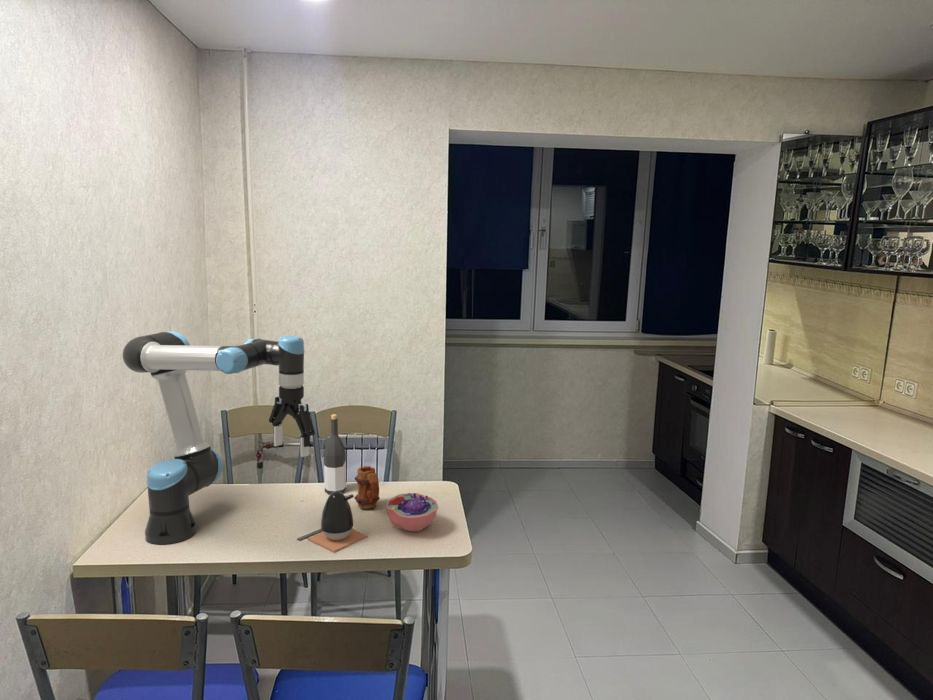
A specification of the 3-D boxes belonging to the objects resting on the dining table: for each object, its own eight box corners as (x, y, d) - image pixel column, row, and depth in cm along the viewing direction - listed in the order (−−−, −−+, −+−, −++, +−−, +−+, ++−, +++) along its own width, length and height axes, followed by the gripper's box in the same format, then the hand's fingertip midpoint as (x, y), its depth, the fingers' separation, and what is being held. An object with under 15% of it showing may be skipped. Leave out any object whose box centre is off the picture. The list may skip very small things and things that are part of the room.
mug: (352, 503, 238) (351, 464, 235) (373, 500, 241) (373, 461, 239) (365, 519, 225) (364, 478, 222) (387, 515, 229) (387, 474, 226)
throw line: (297, 539, 209) (296, 538, 209) (340, 521, 223) (340, 520, 223) (299, 541, 208) (299, 539, 208) (343, 522, 222) (343, 521, 222)
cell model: (428, 512, 232) (428, 481, 230) (443, 537, 213) (444, 504, 211) (381, 517, 227) (380, 486, 225) (392, 543, 208) (392, 510, 206)
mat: (307, 540, 209) (307, 538, 209) (341, 525, 220) (341, 523, 220) (334, 552, 201) (334, 551, 201) (367, 537, 212) (367, 535, 212)
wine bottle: (324, 487, 252) (323, 412, 247) (346, 486, 254) (345, 411, 248) (324, 495, 244) (322, 418, 239) (346, 494, 246) (345, 417, 240)
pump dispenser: (352, 543, 206) (351, 498, 203) (319, 544, 205) (317, 498, 202) (355, 529, 216) (355, 485, 213) (323, 529, 215) (322, 486, 212)
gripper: (327, 391, 199) (326, 457, 203) (277, 376, 215) (277, 438, 219) (307, 395, 194) (306, 463, 198) (257, 380, 209) (258, 443, 213)
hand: (291, 450), depth 208 cm, fingers open, 13 cm apart
